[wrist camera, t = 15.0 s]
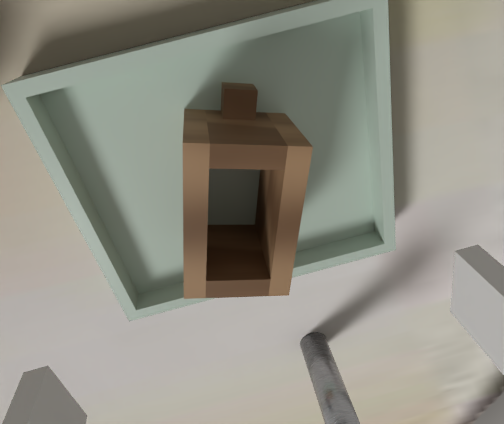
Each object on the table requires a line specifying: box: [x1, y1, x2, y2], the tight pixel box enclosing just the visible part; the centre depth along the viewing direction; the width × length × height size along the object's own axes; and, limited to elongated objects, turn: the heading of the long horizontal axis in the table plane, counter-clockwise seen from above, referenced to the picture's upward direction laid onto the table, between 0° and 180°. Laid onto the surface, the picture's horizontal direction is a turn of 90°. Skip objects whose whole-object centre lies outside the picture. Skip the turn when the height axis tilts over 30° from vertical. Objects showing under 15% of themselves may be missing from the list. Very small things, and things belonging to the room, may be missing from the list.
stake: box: [300, 333, 360, 424], centre depth 30 cm, size 5×2×11 cm, turn 12°
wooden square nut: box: [183, 82, 313, 299], centre depth 22 cm, size 11×6×6 cm, turn 175°
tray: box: [1, 0, 396, 321], centre depth 24 cm, size 17×20×2 cm
